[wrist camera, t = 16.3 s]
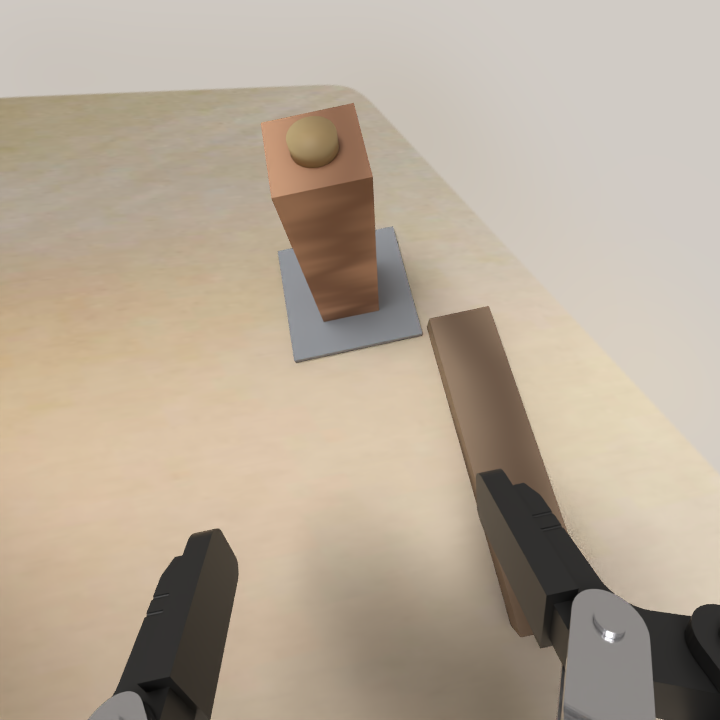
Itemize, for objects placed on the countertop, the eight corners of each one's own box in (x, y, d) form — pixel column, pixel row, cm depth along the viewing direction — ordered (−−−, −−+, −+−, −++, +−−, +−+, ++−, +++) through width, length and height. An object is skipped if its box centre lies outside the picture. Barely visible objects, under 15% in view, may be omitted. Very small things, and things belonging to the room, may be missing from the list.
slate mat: (295, 362, 25) (294, 360, 24) (279, 254, 28) (277, 251, 27) (421, 335, 25) (422, 333, 24) (392, 229, 28) (392, 226, 27)
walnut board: (510, 625, 19) (520, 637, 18) (427, 327, 25) (429, 318, 24) (582, 610, 19) (598, 621, 18) (482, 315, 25) (488, 305, 23)
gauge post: (323, 322, 25) (266, 186, 13) (315, 273, 26) (255, 109, 14) (378, 310, 25) (371, 164, 13) (367, 262, 26) (352, 88, 14)
